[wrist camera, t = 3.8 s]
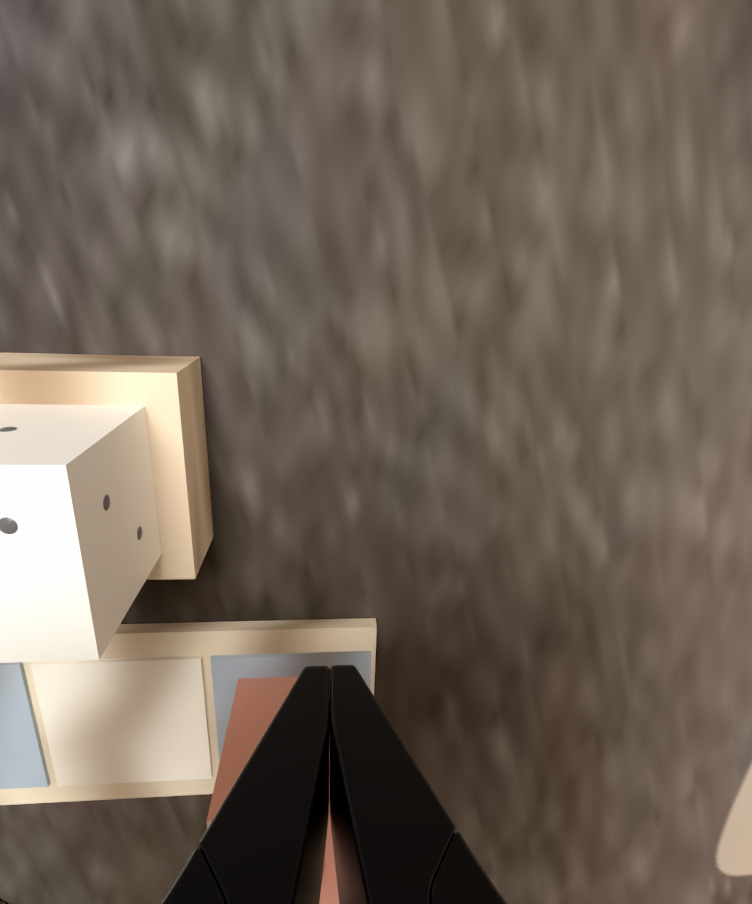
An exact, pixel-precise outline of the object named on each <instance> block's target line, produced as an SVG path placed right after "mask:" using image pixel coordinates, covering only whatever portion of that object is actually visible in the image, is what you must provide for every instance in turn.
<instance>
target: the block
mask: <svg viewBox="0 0 752 904" xmlns="http://www.w3.org/2000/svg"><path fill="white" fill-rule="evenodd" d="M0 404H41V405H122V406H145V411H146V419H147V428H148V437H149V446H150V454H151V463H152V472H153V481H154V490H155V498H156V507H157V516H158V525H159V534H160V542H161V551H162V554H161V555H160V557H159V559H158V561H157V562H156V564H155V566H154V567H153V569H152V571H151V572H150V574H149V576H148V578H147V579H146V580H165V579H196V576H197V574H198V572H199V569H200V567H201V565H202V562H203V560H204V558H205V555H206V553H207V551H208V548H209V546H210V544H211V541H212V539H213V537H214V533H213V520H212V507H211V494H210V481H209V467H208V454H207V441H206V428H205V415H204V401H203V388H202V375H201V362H200V357H186V356H138V355H89V354H41V353H0Z"/></svg>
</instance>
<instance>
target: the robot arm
mask: <svg viewBox="0 0 752 904" xmlns="http://www.w3.org/2000/svg"><path fill="white" fill-rule="evenodd" d="M329 745H330V821H331V833H332V842H333V851H334V860H335V869H336V878H337V887H338V896H339V904H507V903H506V902H505V900H504V899H503V898H502V896H501V895H500V894H499V892H498V891H497V889H496V888H495V886H494V885H493V883H492V882H491V880H490V879H489V877H488V876H487V874H486V873H485V871H484V870H483V868H482V867H481V865H480V864H479V862H478V861H477V859H476V858H475V856H474V855H473V853H472V851H471V850H470V848H469V847H468V845H467V843H466V842H465V840H464V839H463V837H462V835H461V834H460V833H459V832H456V830H457V829H456V826H455V825H454V823H453V821H452V820H451V818H450V817H449V815H448V813H447V812H446V810H445V809H444V807H443V805H442V804H441V802H440V801H439V799H438V798H437V796H436V794H435V793H434V791H433V790H432V788H431V786H430V785H429V783H428V782H427V780H426V778H425V777H424V775H423V774H422V772H421V770H420V769H419V767H418V766H417V764H416V762H415V761H414V759H413V758H412V756H411V754H410V753H409V751H408V750H407V748H406V746H405V745H404V743H403V742H402V740H401V738H400V737H399V735H398V734H397V732H396V730H395V729H394V727H393V726H392V724H391V722H390V721H389V719H388V718H387V716H386V714H385V713H384V711H383V710H382V708H381V706H380V705H379V703H378V702H377V700H376V698H375V697H374V695H373V694H372V692H371V690H370V689H369V687H368V686H367V684H366V682H365V681H364V679H363V678H362V676H361V674H360V673H359V671H358V670H357V668H356V667H355V666H354V665H333V666H332V667H331V668H330V670H329V667H328V666H307V667H305V668H304V669H303V670H302V672H301V673H300V675H299V677H298V678H297V680H296V682H295V683H294V685H293V687H292V688H291V690H290V692H289V693H288V695H287V697H286V698H285V700H284V702H283V703H282V705H281V707H280V708H279V710H278V712H277V713H276V715H275V717H274V718H273V720H272V722H271V723H270V725H269V727H268V728H267V730H266V732H265V733H264V735H263V737H262V738H261V740H260V742H259V743H258V745H257V747H256V748H255V750H254V752H253V753H252V755H251V757H250V758H249V760H248V762H247V763H246V765H245V767H244V768H243V770H242V772H241V773H240V775H239V777H238V778H237V780H236V782H235V783H234V785H233V787H232V788H231V790H230V792H229V793H228V795H227V797H226V798H225V800H224V802H223V803H222V805H221V807H220V808H219V810H218V812H217V813H216V815H215V817H214V818H213V820H212V822H211V823H210V825H209V826H208V828H207V830H206V831H205V833H204V835H203V836H202V838H201V840H200V841H199V843H198V848H196V849H195V850H194V851H193V853H192V854H191V856H190V858H189V859H188V861H187V863H186V864H185V866H184V868H183V869H182V871H181V873H180V874H179V876H178V878H177V879H176V881H175V882H174V884H173V885H172V887H171V889H170V890H169V892H168V893H167V895H166V896H165V898H164V899H163V901H162V903H161V904H319V902H320V893H321V884H322V875H323V866H324V857H325V848H326V839H327V829H328V817H329Z"/></svg>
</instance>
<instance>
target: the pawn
mask: <svg viewBox="0 0 752 904" xmlns="http://www.w3.org/2000/svg"><path fill="white" fill-rule="evenodd" d="M297 678H298V677H270V678H241V679H238V682H237V686H236V691H235V695H234V700H233V704H232V709H231V713H230V718H229V722H228V727H227V731H226V736H225V740H224V745H223V749H222V754H221V758H220V763H219V768H218V772H217V777H216V781H215V786H214V790H213V795H212V799H211V804H210V808H209V813H208V817H207V828H208V826H209V825H210V823H211V822H212V820H213V818H214V817H215V815H216V813H217V812H218V810H219V808H220V807H221V805H222V803H223V802H224V800H225V798H226V797H227V795H228V793H229V792H230V790H231V788H232V787H233V785H234V783H235V782H236V780H237V778H238V777H239V775H240V773H241V772H242V770H243V768H244V767H245V765H246V763H247V762H248V760H249V758H250V757H251V755H252V753H253V752H254V750H255V748H256V747H257V745H258V743H259V742H260V740H261V738H262V737H263V735H264V733H265V732H266V730H267V728H268V727H269V725H270V723H271V722H272V720H273V718H274V717H275V715H276V713H277V712H278V710H279V708H280V707H281V705H282V703H283V702H284V700H285V698H286V697H287V695H288V693H289V692H290V690H291V688H292V687H293V685H294V683H295V682H296V680H297ZM319 904H339V896H338V887H337V878H336V869H335V860H334V851H333V842H332V833H331V821H330V745H329V817H328V829H327V839H326V848H325V857H324V866H323V875H322V884H321V893H320V902H319Z"/></svg>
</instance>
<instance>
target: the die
mask: <svg viewBox="0 0 752 904" xmlns="http://www.w3.org/2000/svg"><path fill="white" fill-rule="evenodd" d="M161 554H162V551H161V542H160V534H159V525H158V516H157V507H156V498H155V490H154V481H153V472H152V463H151V454H150V446H149V437H148V428H147V419H146V411H145V406H122V405H41V404H0V663H16V662H50V661H83V660H99V659H100V658H101V656H102V654H103V653H104V651H105V649H106V647H107V646H108V644H109V642H110V641H111V639H112V637H113V635H114V634H115V632H116V630H117V629H118V627H119V625H120V624H121V622H122V620H123V618H124V617H125V615H126V613H127V612H128V610H129V608H130V607H131V605H132V603H133V601H134V600H135V598H136V596H137V595H138V593H139V591H140V589H141V588H142V586H143V584H144V583H145V581H146V579H147V578H148V576H149V574H150V572H151V571H152V569H153V567H154V566H155V564H156V562H157V561H158V559H159V557H160V555H161Z"/></svg>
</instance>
